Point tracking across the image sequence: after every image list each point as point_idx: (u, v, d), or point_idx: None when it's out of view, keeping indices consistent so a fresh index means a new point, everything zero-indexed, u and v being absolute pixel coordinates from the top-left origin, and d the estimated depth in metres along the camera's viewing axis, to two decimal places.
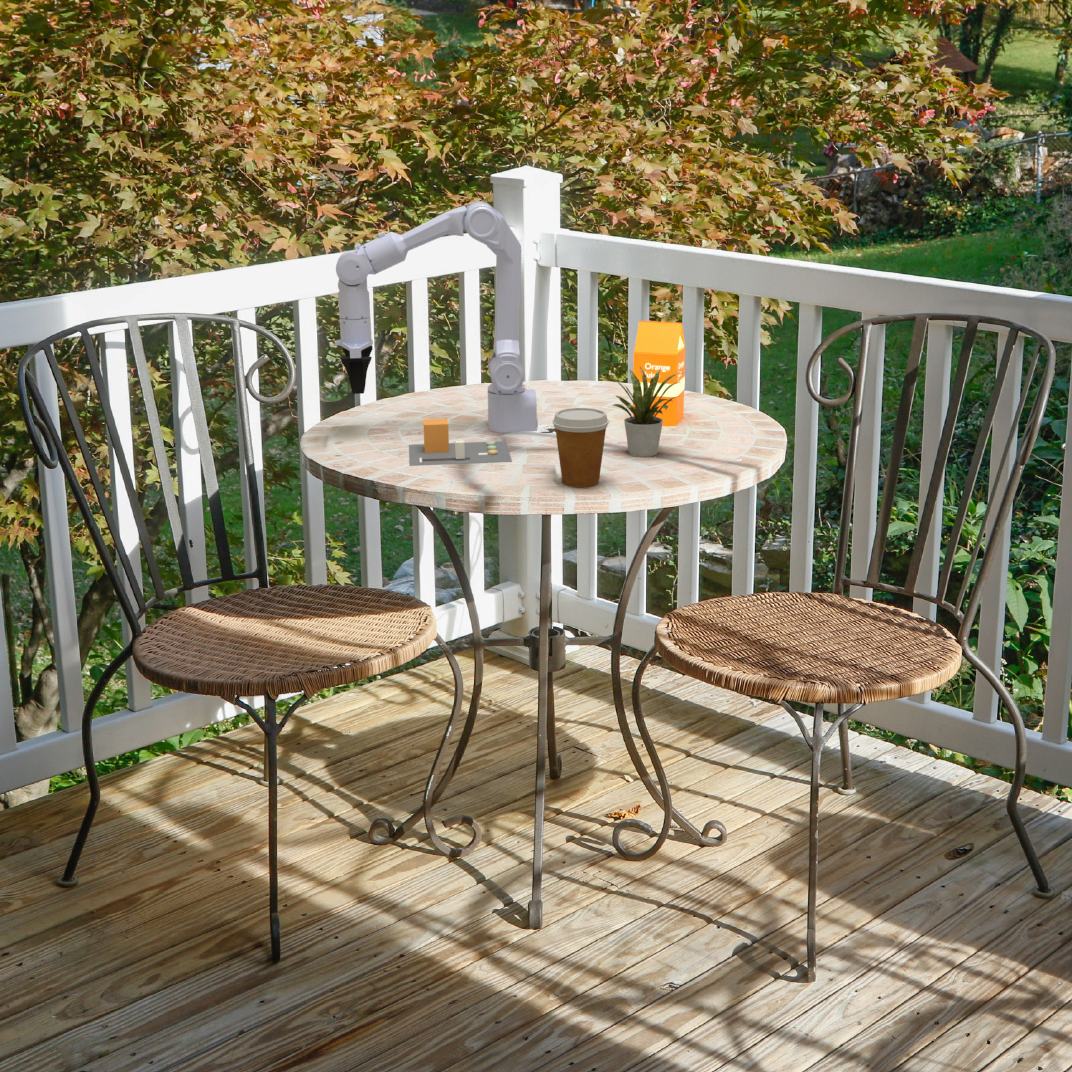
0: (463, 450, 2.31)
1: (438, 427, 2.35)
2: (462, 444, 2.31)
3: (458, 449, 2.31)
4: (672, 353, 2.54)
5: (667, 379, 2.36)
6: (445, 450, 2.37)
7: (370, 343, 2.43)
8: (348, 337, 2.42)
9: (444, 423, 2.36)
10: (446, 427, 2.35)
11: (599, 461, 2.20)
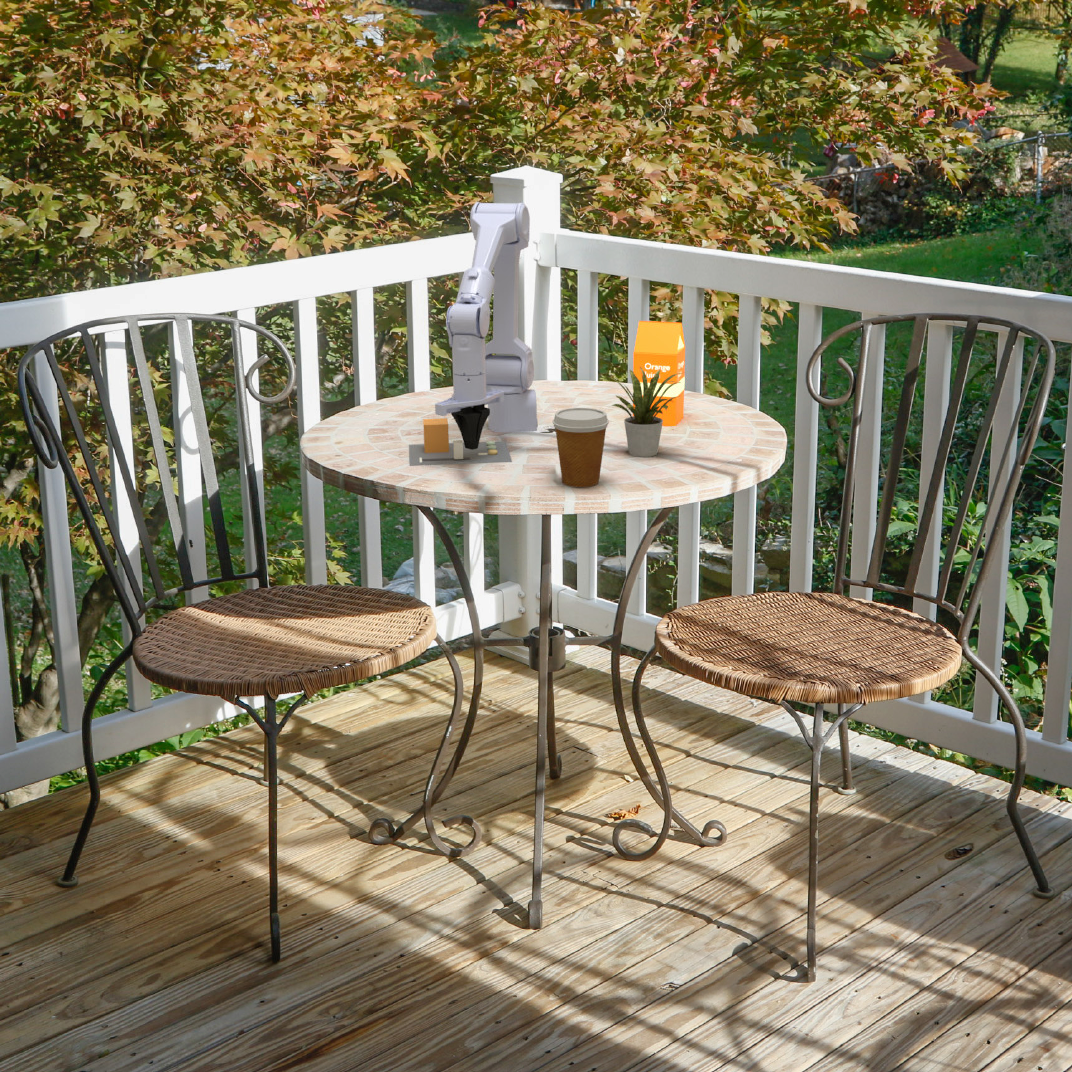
0: (461, 450, 2.31)
1: (438, 427, 2.35)
2: (460, 444, 2.31)
3: (456, 449, 2.31)
4: (671, 353, 2.54)
5: (667, 379, 2.36)
6: (445, 450, 2.37)
7: (473, 403, 2.26)
8: (454, 393, 2.28)
9: (444, 423, 2.36)
10: (446, 427, 2.35)
11: (599, 461, 2.20)
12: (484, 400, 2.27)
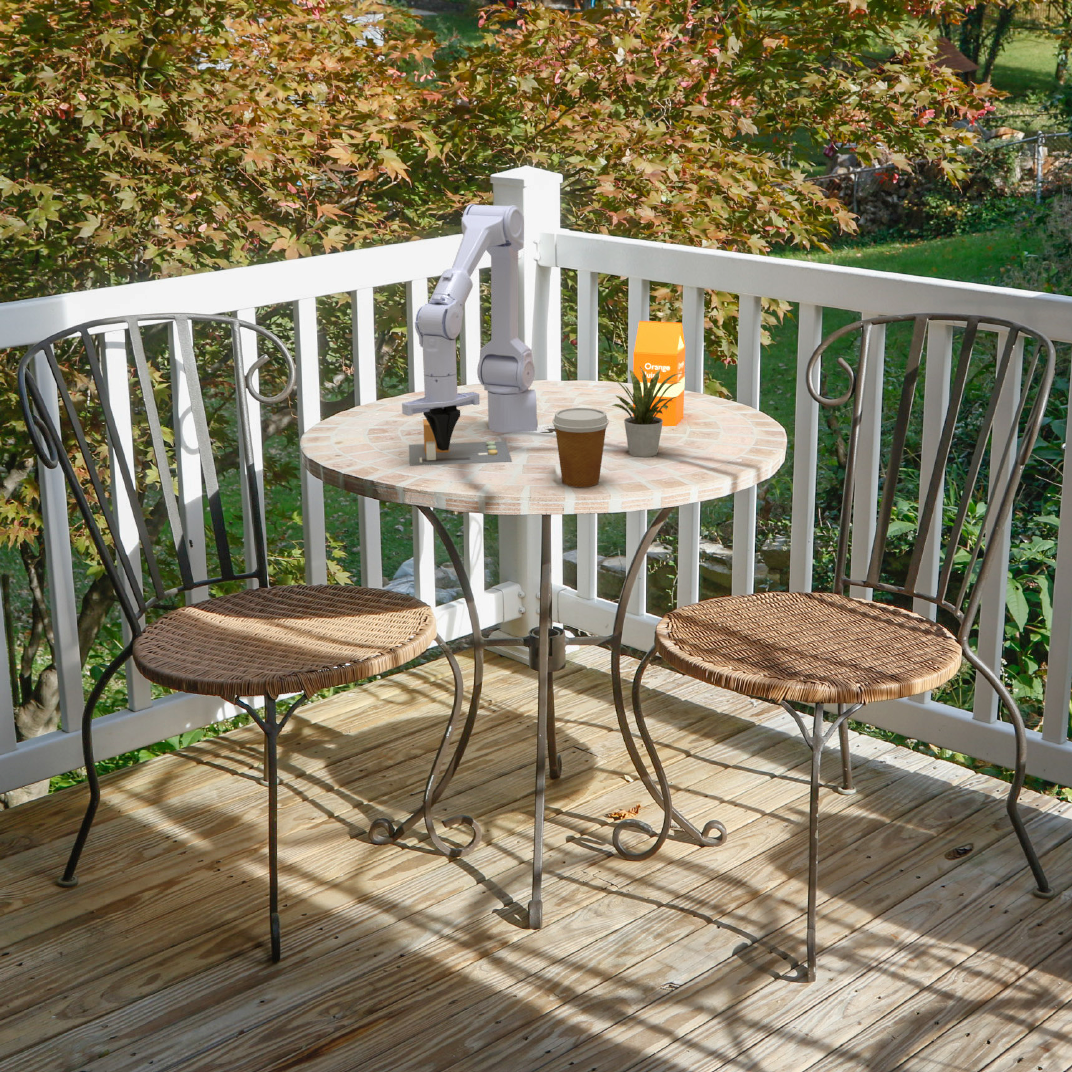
0: (434, 451, 2.31)
1: None
2: (433, 445, 2.30)
3: (429, 450, 2.30)
4: (672, 353, 2.54)
5: (667, 379, 2.36)
6: (445, 450, 2.37)
7: (440, 404, 2.26)
8: None
9: None
10: None
11: (599, 461, 2.20)
12: (453, 402, 2.27)
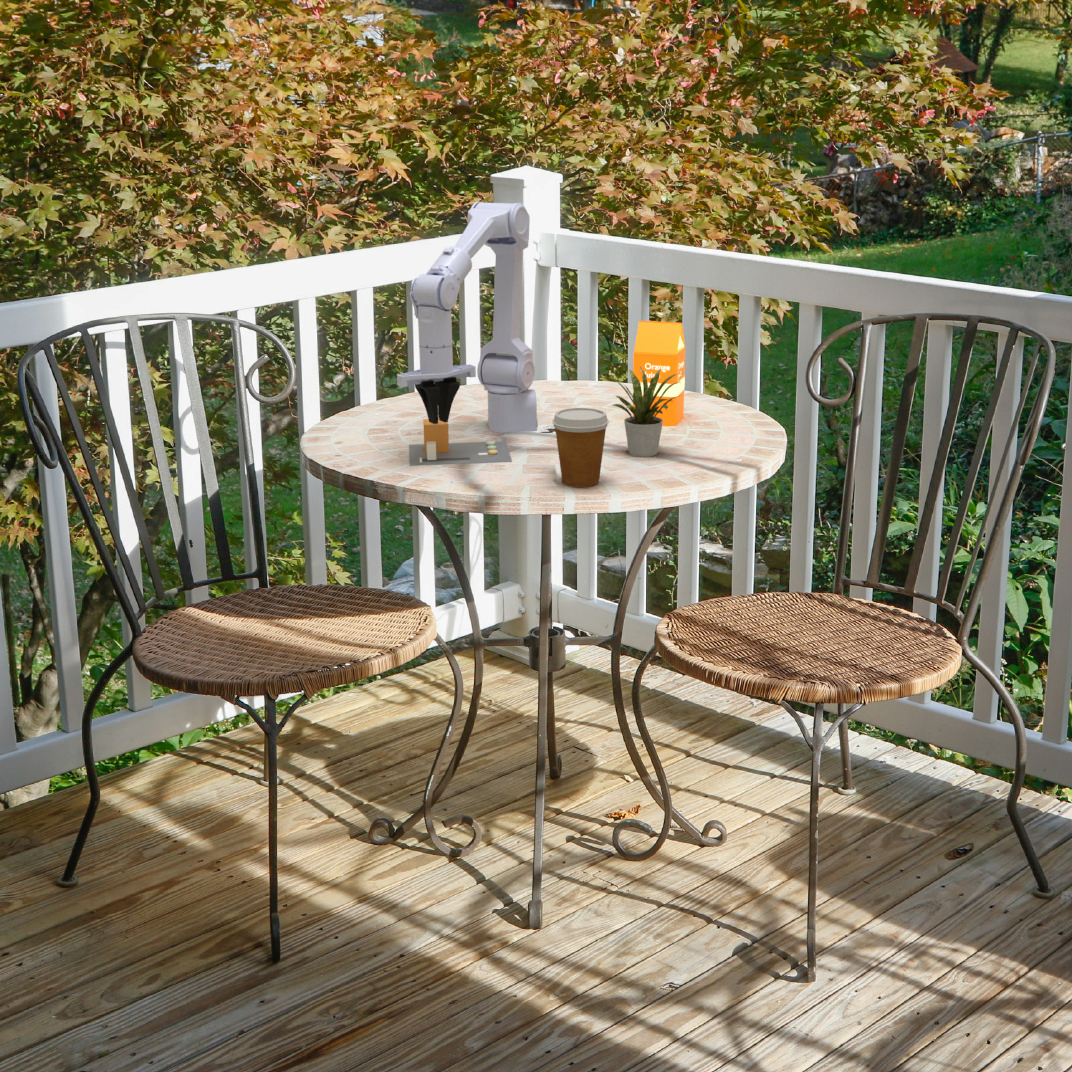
0: (434, 451, 2.31)
1: (438, 427, 2.35)
2: (433, 445, 2.30)
3: (429, 450, 2.30)
4: (672, 353, 2.54)
5: (667, 379, 2.36)
6: (445, 450, 2.37)
7: (435, 376, 2.24)
8: None
9: (444, 423, 2.36)
10: (446, 427, 2.35)
11: (599, 461, 2.20)
12: (448, 373, 2.25)
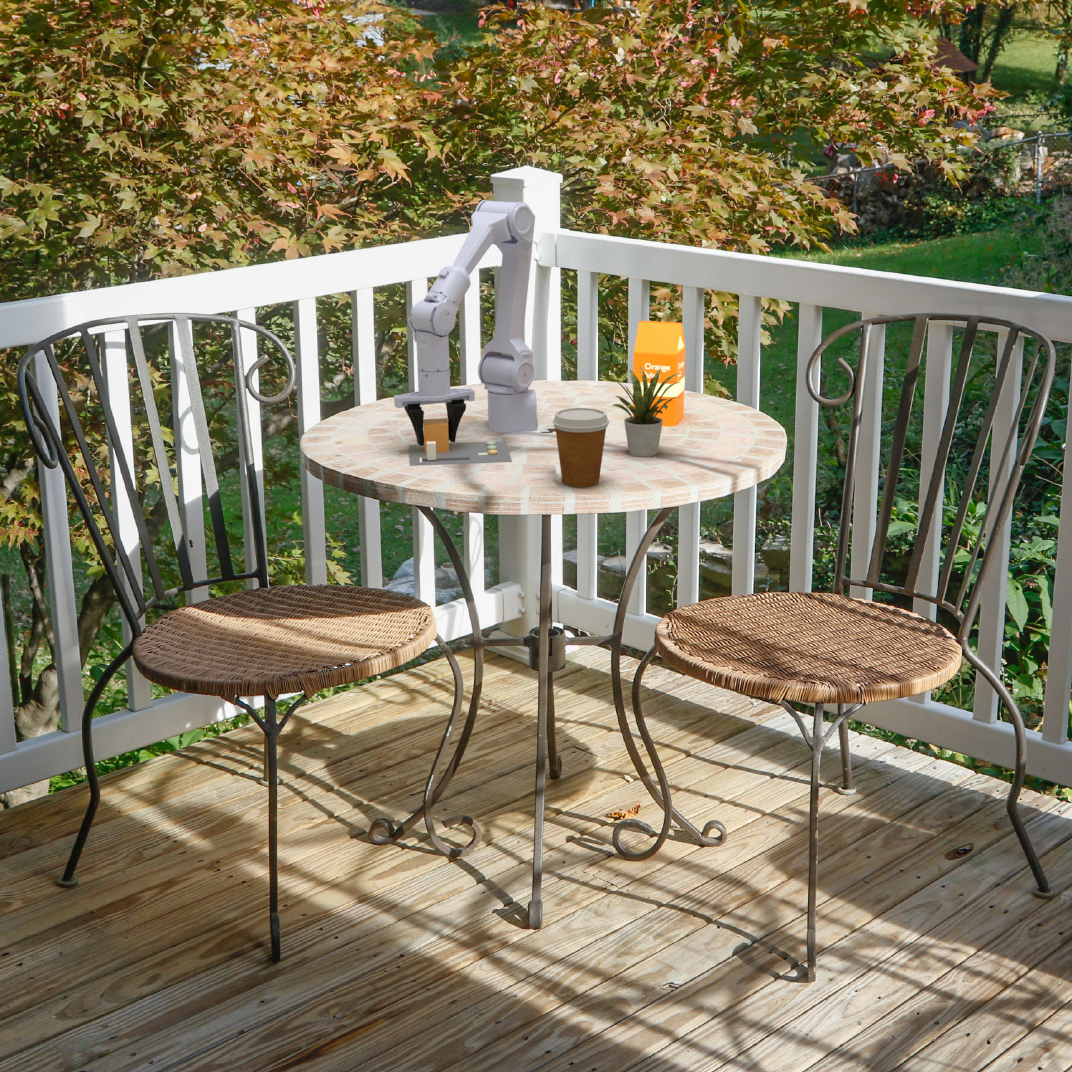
0: (434, 451, 2.31)
1: (438, 427, 2.35)
2: (433, 445, 2.30)
3: (429, 450, 2.30)
4: (672, 353, 2.54)
5: (667, 379, 2.36)
6: (445, 450, 2.37)
7: (430, 398, 2.32)
8: None
9: (444, 423, 2.36)
10: (446, 427, 2.35)
11: (599, 461, 2.20)
12: (443, 397, 2.33)
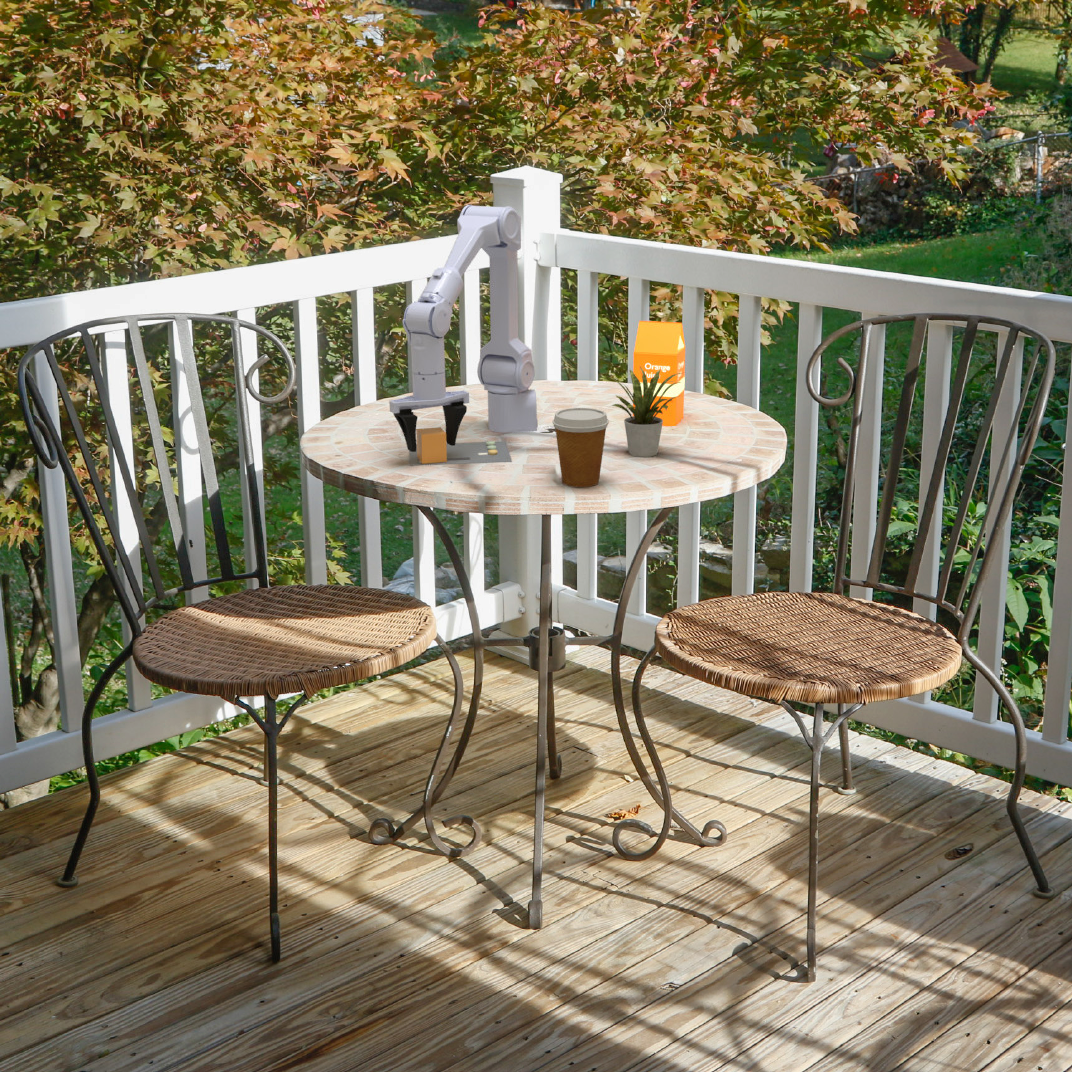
0: None
1: (436, 436, 2.28)
2: None
3: None
4: (672, 353, 2.54)
5: (667, 379, 2.36)
6: (443, 460, 2.30)
7: (427, 402, 2.25)
8: None
9: (441, 432, 2.29)
10: (444, 436, 2.29)
11: (599, 461, 2.20)
12: (440, 400, 2.26)
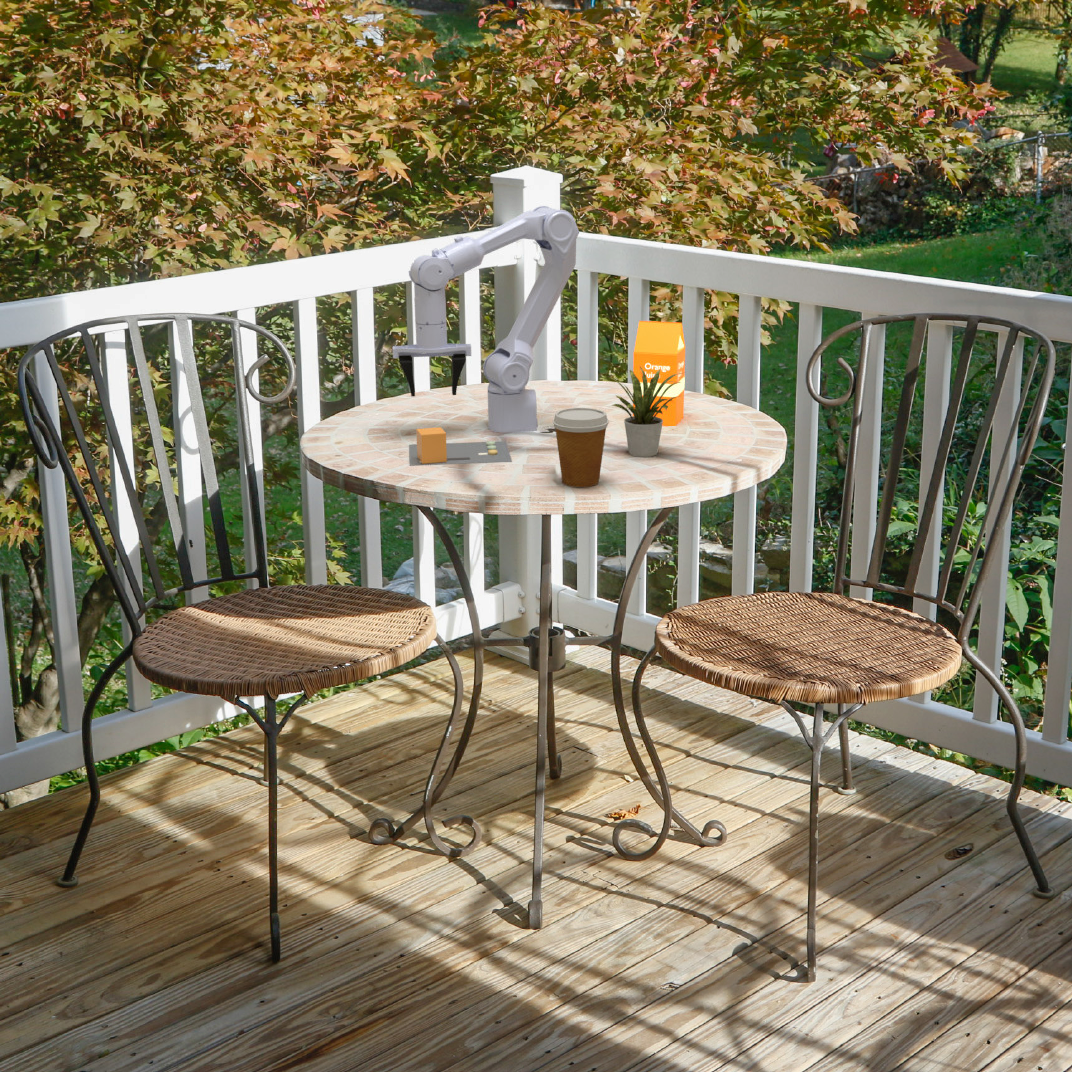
0: None
1: (436, 436, 2.28)
2: None
3: None
4: (672, 353, 2.54)
5: (667, 379, 2.36)
6: (443, 460, 2.30)
7: (423, 350, 2.40)
8: None
9: (441, 432, 2.29)
10: (444, 436, 2.29)
11: (599, 461, 2.20)
12: (436, 350, 2.40)
